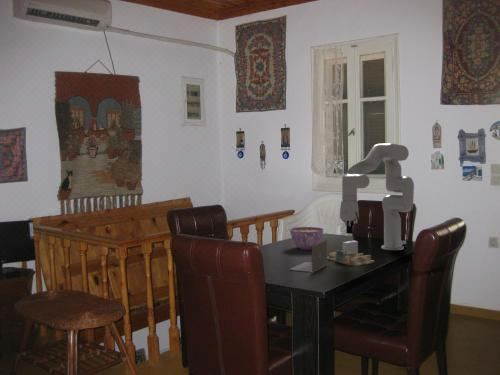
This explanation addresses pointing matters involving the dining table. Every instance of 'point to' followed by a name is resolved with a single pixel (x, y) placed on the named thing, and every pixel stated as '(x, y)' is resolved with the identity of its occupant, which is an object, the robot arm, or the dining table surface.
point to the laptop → (314, 259)
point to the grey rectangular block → (350, 248)
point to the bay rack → (350, 258)
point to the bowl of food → (306, 237)
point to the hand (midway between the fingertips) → (349, 233)
